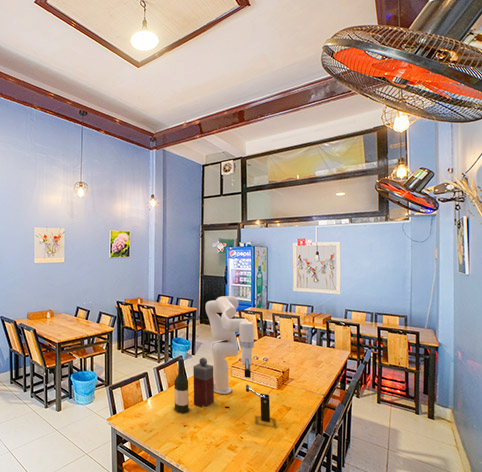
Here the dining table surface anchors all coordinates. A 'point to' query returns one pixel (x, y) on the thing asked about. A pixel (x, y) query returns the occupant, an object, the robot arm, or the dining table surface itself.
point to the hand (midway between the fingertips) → (247, 376)
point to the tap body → (265, 408)
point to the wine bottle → (181, 389)
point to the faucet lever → (253, 391)
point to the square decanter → (203, 384)
